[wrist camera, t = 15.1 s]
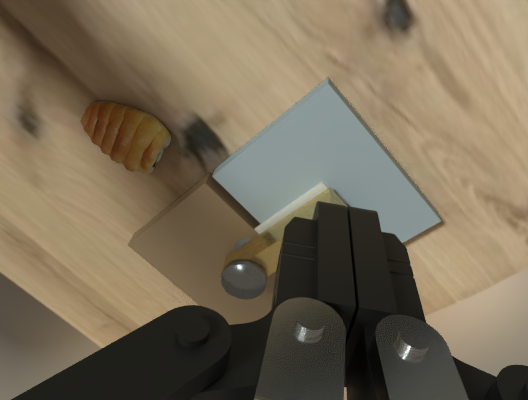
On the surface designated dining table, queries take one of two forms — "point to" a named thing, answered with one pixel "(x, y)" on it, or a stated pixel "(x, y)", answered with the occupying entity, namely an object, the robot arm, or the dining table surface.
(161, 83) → the dining table surface
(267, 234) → the swing bar
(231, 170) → the door mock-up
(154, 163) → the pastry
